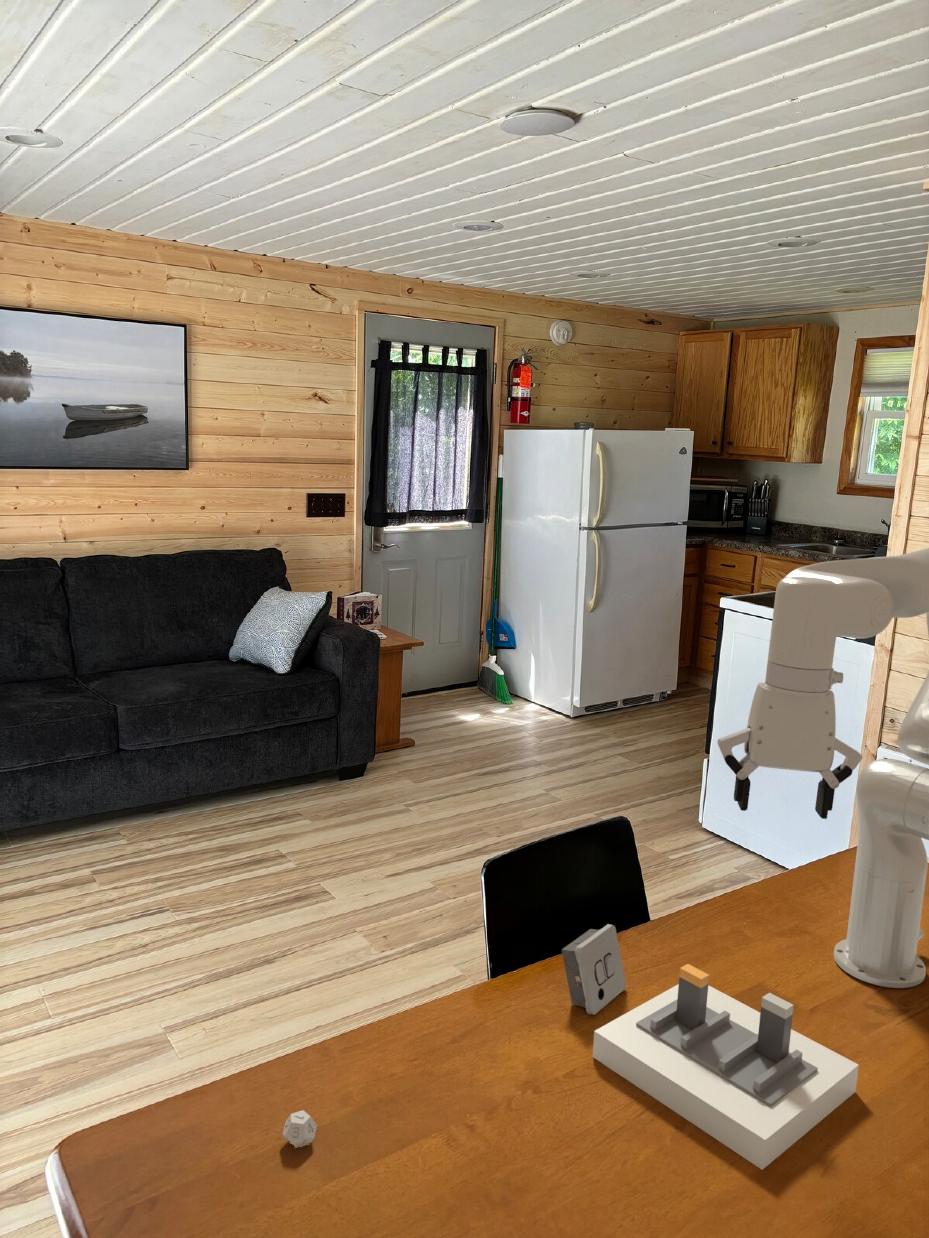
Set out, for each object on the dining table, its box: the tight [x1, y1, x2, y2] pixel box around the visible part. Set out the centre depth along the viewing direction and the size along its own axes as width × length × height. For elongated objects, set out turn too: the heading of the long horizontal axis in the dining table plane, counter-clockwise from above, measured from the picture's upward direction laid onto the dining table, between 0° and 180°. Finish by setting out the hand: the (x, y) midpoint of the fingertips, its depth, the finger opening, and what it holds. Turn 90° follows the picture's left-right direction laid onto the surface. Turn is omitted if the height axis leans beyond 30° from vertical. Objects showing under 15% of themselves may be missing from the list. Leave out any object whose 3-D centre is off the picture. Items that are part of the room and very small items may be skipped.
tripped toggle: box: [676, 963, 710, 1030], centre depth 120 cm, size 2×3×7 cm, turn 41°
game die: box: [282, 1109, 318, 1148], centre depth 104 cm, size 4×4×3 cm
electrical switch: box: [561, 923, 627, 1015], centre depth 132 cm, size 9×5×9 cm, turn 141°
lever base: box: [592, 983, 860, 1170], centre depth 116 cm, size 20×24×11 cm
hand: (781, 810), depth 121 cm, fingers open, 9 cm apart
